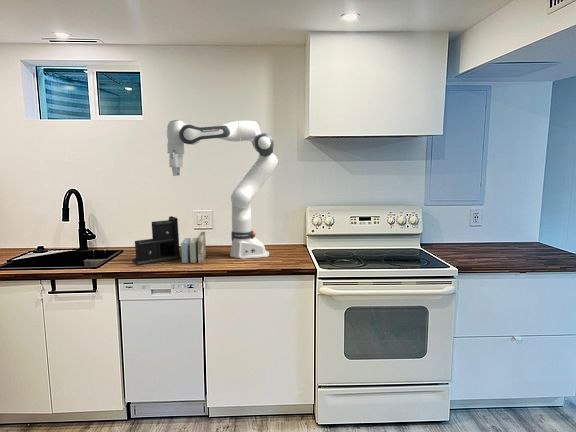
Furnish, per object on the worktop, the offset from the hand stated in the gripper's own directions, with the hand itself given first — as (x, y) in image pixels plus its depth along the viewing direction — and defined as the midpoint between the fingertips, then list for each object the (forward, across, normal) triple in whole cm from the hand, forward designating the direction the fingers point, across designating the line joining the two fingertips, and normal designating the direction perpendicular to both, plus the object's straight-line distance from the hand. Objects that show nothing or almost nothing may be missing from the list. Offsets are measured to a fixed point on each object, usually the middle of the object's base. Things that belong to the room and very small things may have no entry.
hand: (176, 175), depth 226 cm
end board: (+46, -6, -14) cm, 48 cm away
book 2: (+46, -6, -10) cm, 48 cm away
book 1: (+46, -6, -6) cm, 47 cm away
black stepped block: (+47, -6, +11) cm, 48 cm away
